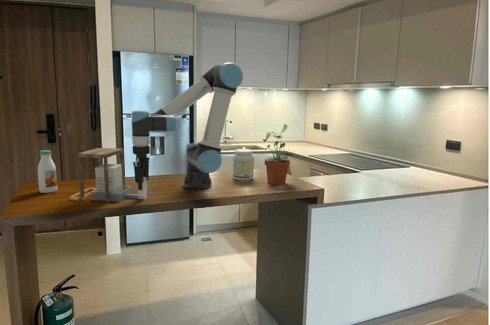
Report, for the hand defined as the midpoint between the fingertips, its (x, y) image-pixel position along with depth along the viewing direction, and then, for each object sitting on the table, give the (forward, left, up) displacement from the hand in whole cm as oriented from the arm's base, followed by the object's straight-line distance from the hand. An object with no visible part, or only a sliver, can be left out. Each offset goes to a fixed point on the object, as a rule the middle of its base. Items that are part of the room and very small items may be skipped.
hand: (142, 195), depth 165 cm
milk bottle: (+49, -3, -2) cm, 49 cm away
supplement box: (+16, +1, -2) cm, 16 cm away
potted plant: (-60, -44, -2) cm, 74 cm away
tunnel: (+19, 0, -2) cm, 19 cm away
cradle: (+10, 0, -2) cm, 10 cm away
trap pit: (+28, 0, -2) cm, 28 cm away
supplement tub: (-41, -50, -2) cm, 65 cm away
